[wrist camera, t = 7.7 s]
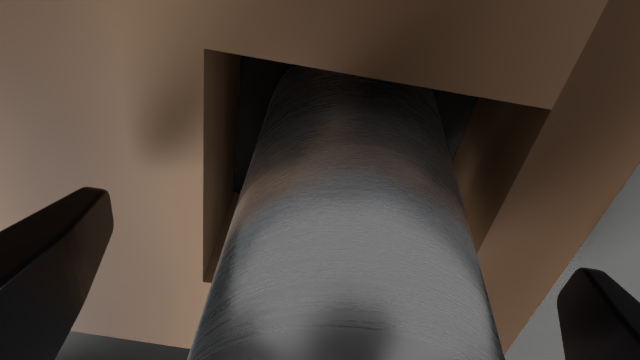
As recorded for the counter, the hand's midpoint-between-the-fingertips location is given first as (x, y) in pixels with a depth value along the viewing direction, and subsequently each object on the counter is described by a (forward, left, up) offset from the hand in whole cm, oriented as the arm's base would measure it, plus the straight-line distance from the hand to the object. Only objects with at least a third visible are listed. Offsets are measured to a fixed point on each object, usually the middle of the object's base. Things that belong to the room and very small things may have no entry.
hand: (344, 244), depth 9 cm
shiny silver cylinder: (0, 0, -4) cm, 5 cm away
